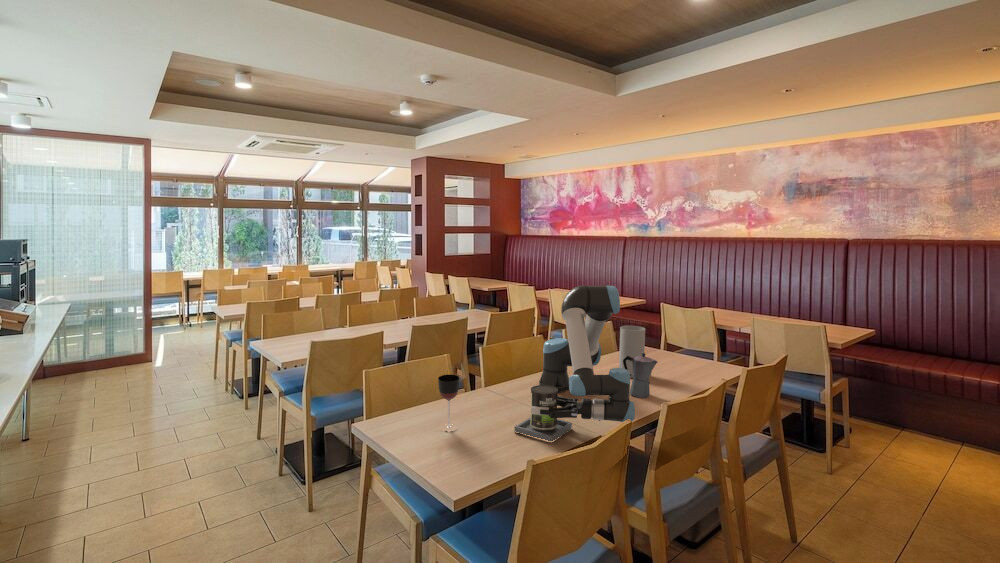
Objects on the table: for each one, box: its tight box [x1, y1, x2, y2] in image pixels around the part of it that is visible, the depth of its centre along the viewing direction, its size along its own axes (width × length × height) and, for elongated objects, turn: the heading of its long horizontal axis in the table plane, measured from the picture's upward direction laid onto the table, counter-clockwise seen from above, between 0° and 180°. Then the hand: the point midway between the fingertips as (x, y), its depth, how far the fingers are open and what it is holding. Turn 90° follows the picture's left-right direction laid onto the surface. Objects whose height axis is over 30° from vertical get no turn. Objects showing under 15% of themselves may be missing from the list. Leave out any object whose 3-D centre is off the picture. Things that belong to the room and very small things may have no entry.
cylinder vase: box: [618, 325, 646, 379], centre depth 264 cm, size 12×12×25 cm
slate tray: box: [514, 416, 573, 441], centre depth 193 cm, size 16×16×2 cm
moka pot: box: [623, 352, 659, 399], centre depth 233 cm, size 10×15×20 cm, turn 78°
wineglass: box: [437, 374, 460, 428], centre depth 194 cm, size 8×9×20 cm
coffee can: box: [530, 384, 559, 430], centre depth 192 cm, size 10×10×14 cm
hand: (532, 405), depth 193 cm, fingers closed on coffee can, 10 cm apart
